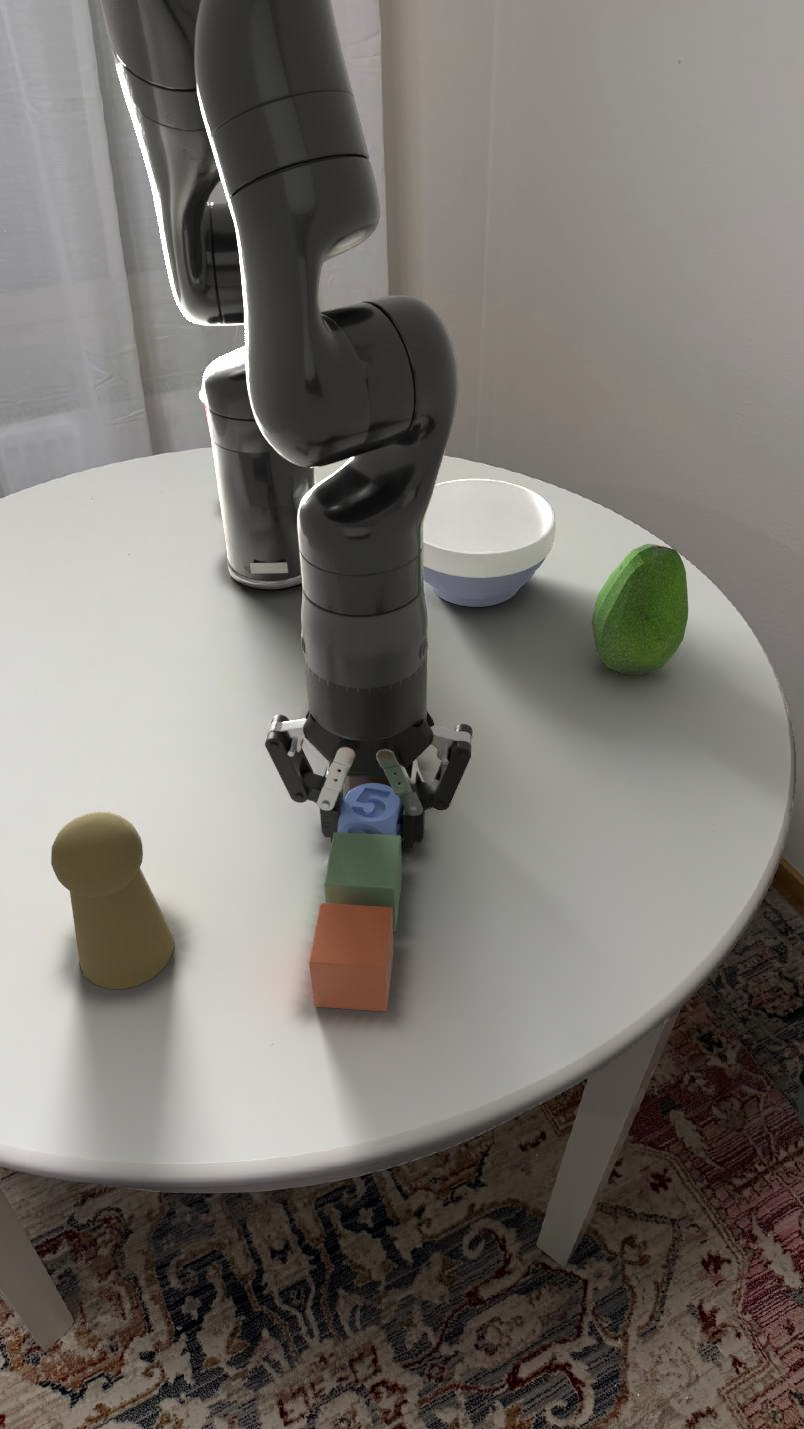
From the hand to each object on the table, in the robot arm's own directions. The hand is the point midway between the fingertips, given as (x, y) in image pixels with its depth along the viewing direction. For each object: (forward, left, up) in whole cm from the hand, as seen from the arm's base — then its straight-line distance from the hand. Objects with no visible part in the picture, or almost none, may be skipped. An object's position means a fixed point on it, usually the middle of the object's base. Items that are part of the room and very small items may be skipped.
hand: (373, 837), depth 72 cm
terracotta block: (+12, 0, 0) cm, 12 cm away
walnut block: (-6, 0, 0) cm, 6 cm away
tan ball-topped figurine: (+11, -15, -1) cm, 18 cm away
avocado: (-22, +20, -1) cm, 30 cm away
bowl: (-34, +6, -1) cm, 35 cm away
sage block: (+6, 0, 0) cm, 6 cm away
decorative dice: (0, 0, -1) cm, 1 cm away
